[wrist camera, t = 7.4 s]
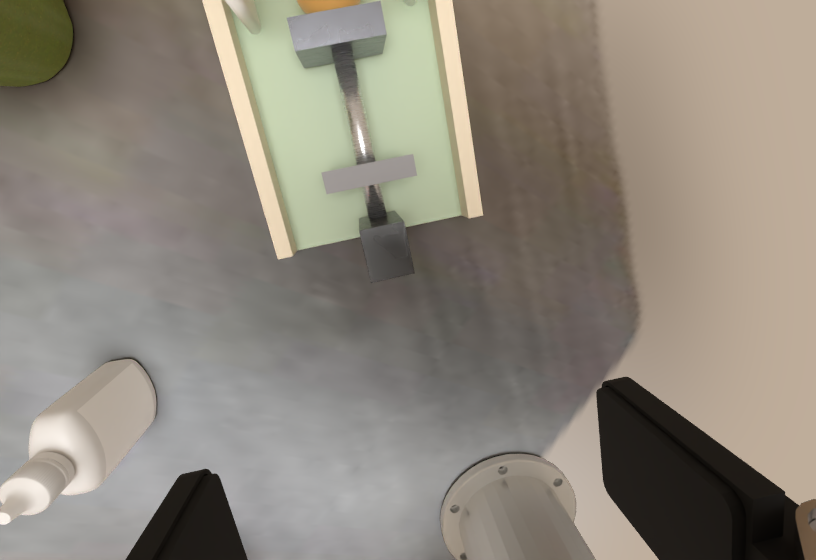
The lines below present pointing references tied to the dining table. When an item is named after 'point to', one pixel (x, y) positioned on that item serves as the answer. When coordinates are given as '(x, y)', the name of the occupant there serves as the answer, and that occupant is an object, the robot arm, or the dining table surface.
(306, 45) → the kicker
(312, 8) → the ball
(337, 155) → the pitch
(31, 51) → the plant pot
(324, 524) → the dining table surface
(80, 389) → the eye dropper bottle
